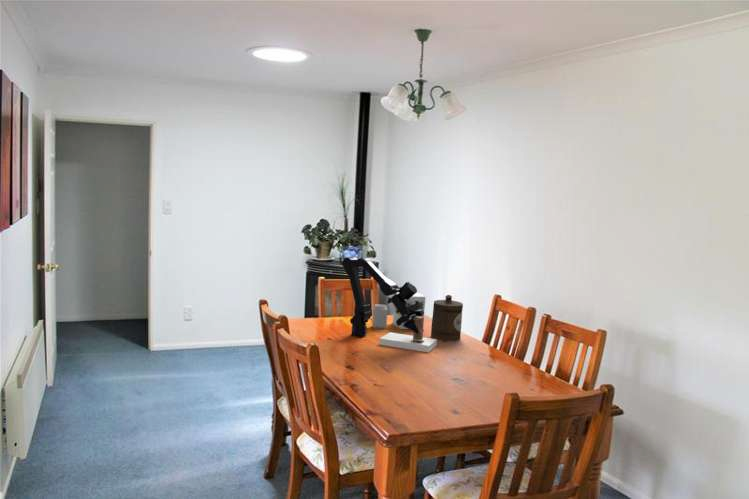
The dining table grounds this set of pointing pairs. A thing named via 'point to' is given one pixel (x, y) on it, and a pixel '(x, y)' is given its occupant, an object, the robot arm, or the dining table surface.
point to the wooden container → (446, 319)
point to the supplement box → (412, 301)
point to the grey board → (407, 342)
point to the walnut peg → (419, 324)
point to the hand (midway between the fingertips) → (420, 332)
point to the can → (379, 316)
